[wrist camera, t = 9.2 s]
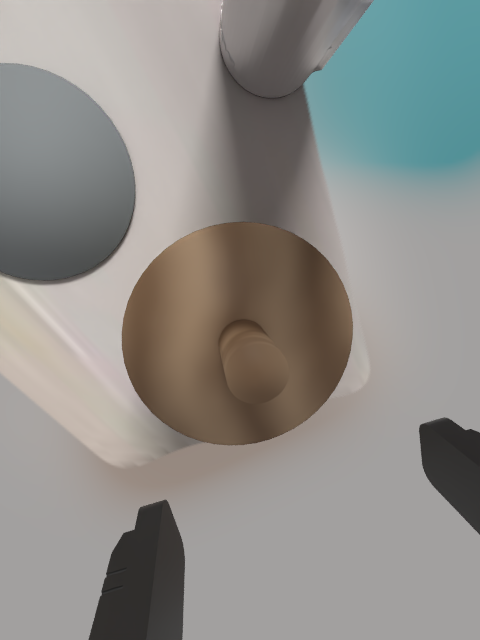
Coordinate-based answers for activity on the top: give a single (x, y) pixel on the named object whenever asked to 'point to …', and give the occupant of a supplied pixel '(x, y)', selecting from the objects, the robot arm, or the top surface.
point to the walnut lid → (237, 333)
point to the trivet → (58, 177)
